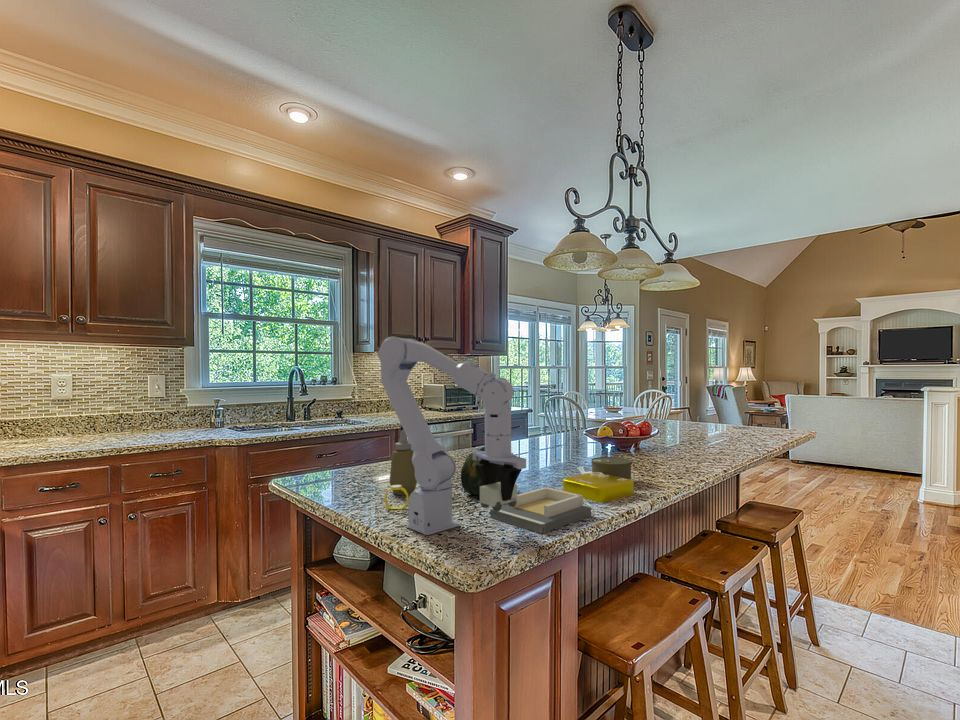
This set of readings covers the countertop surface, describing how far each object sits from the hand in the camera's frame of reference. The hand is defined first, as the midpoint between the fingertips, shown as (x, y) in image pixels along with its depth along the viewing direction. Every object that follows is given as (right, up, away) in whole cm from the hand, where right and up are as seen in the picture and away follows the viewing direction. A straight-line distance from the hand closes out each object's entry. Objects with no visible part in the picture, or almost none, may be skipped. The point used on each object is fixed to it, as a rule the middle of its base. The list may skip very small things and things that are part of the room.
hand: (498, 497), depth 102 cm
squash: (-2, -9, +33) cm, 34 cm away
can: (+37, -9, +45) cm, 59 cm away
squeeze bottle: (-26, -9, +34) cm, 44 cm away
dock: (+10, -8, +11) cm, 17 cm away
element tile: (+29, -9, +32) cm, 44 cm away
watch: (-25, -9, +19) cm, 32 cm away
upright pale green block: (0, -2, 0) cm, 2 cm away
